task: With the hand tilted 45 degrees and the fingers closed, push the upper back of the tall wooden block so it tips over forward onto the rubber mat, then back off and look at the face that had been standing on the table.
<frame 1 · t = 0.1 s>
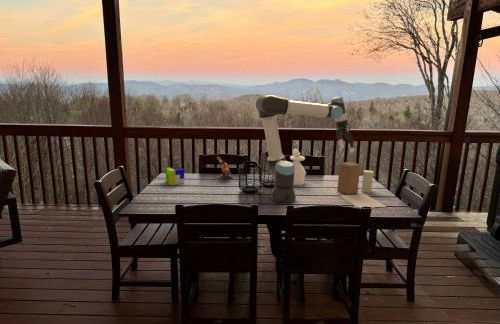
hand: (347, 150, 224), 28 cm above the table, tool tilted 15°, fingers open, 13 cm apart
mat: (362, 201, 206), on the table
decorative bird: (224, 177, 253), on the table
sage block: (366, 191, 228), on the table
decorative object: (295, 183, 244), on the table
puzzle toy: (175, 182, 237), on the table
wooden block: (347, 192, 224), on the table
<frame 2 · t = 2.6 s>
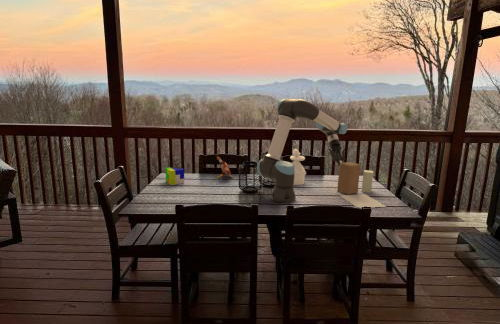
hand: (342, 169, 231), 13 cm above the table, tool tilted 45°, fingers closed
nothing on the table moved.
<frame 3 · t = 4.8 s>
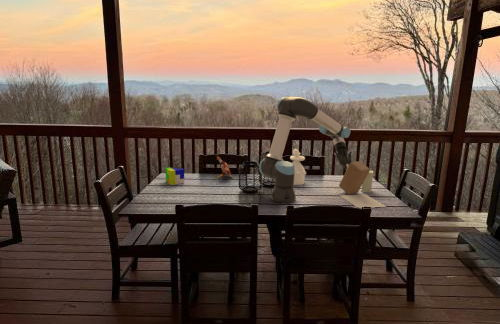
hand: (349, 173, 223), 13 cm above the table, tool tilted 45°, fingers closed
wooden block: (347, 189, 224), point 2 cm above the table
everything else where it was.
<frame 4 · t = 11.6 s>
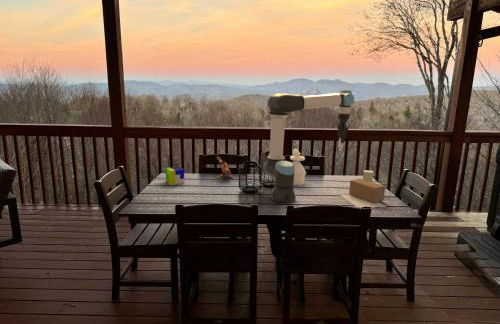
hand: (340, 147, 229), 29 cm above the table, tool pointing down, fingers closed
wooden block: (353, 186, 219), point 5 cm above the table, touching mat
everything else where it was.
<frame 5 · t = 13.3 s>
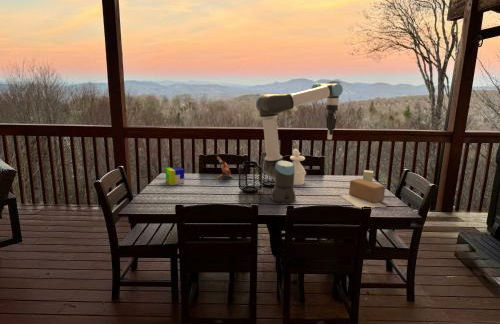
hand: (329, 139, 227), 34 cm above the table, tool pointing down, fingers closed
nothing on the table moved.
at the end: wooden block tilted 90°; wooden block 14.5 cm from the mat (horizontally); wooden block point 5.5 cm above the table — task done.
